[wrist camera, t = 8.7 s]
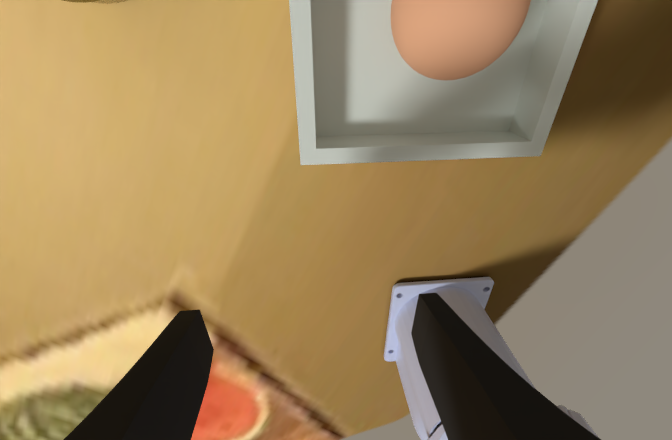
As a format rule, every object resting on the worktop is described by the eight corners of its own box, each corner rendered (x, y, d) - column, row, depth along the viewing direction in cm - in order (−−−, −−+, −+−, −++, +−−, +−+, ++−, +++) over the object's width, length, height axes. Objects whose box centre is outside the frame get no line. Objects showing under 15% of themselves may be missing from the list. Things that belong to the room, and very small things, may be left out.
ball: (463, 75, 16) (535, 88, 11) (369, 73, 15) (409, 86, 10) (492, -53, 13) (599, -97, 9) (381, -65, 12) (441, -121, 8)
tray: (512, 141, 18) (540, 155, 16) (301, 148, 17) (300, 165, 15) (614, -189, 11) (685, -238, 9) (277, -207, 10) (270, -266, 8)
